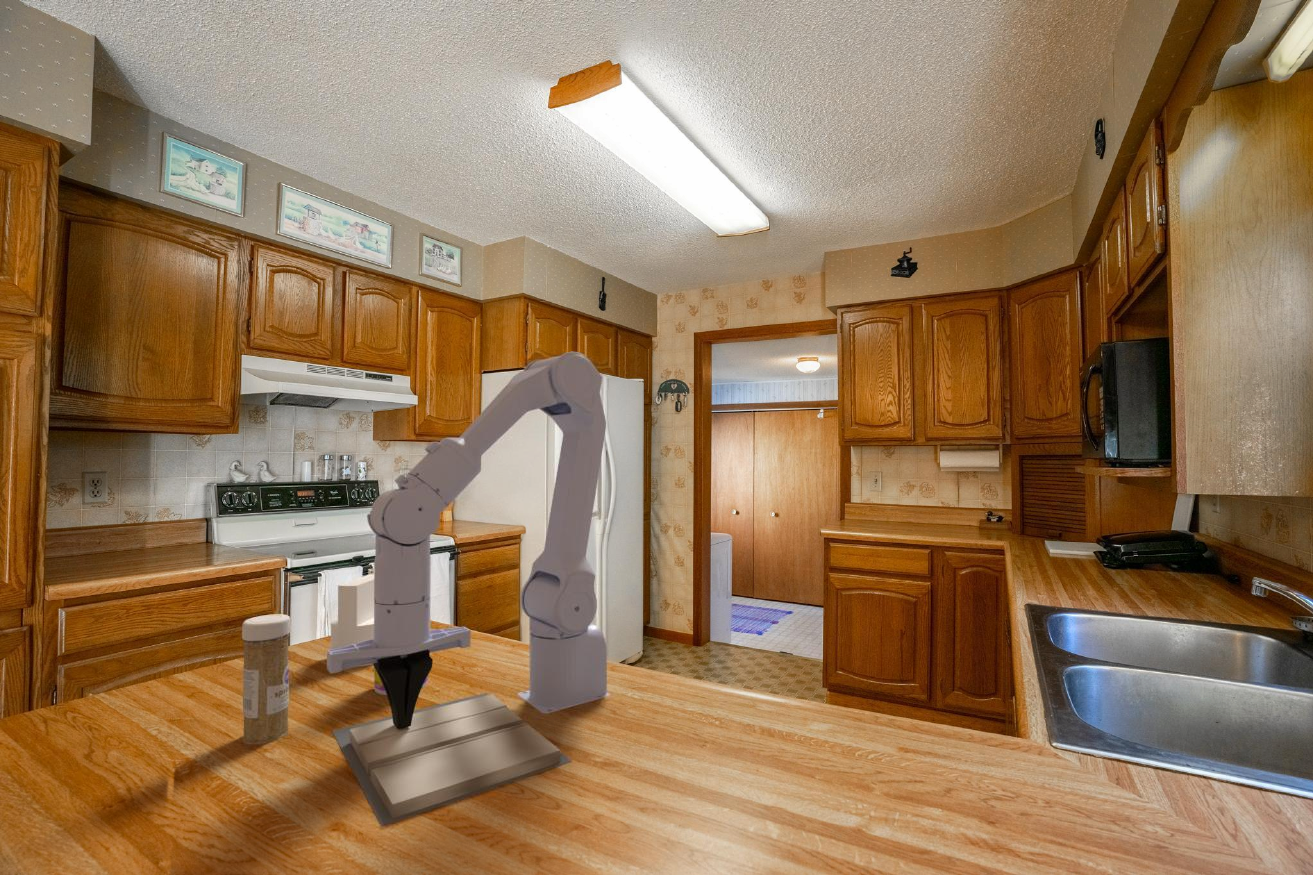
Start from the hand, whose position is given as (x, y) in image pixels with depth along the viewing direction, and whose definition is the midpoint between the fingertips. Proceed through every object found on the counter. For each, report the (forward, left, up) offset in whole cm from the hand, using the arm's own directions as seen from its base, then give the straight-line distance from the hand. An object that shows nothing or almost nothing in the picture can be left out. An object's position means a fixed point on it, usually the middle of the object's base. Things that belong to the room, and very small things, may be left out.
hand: (402, 724), depth 68 cm
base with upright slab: (-3, -35, -2) cm, 35 cm away
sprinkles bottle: (+12, -11, -2) cm, 16 cm away
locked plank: (-3, +11, -2) cm, 12 cm away
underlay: (-3, +4, -2) cm, 6 cm away
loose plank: (-3, +2, -1) cm, 4 cm away
